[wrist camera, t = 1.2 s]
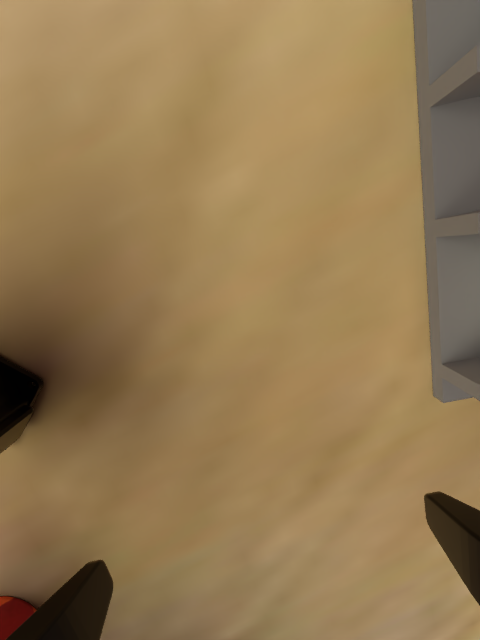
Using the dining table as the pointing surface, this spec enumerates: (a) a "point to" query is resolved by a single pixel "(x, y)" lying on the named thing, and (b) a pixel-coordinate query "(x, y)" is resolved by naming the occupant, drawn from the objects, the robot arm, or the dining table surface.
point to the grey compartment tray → (451, 187)
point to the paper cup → (13, 614)
